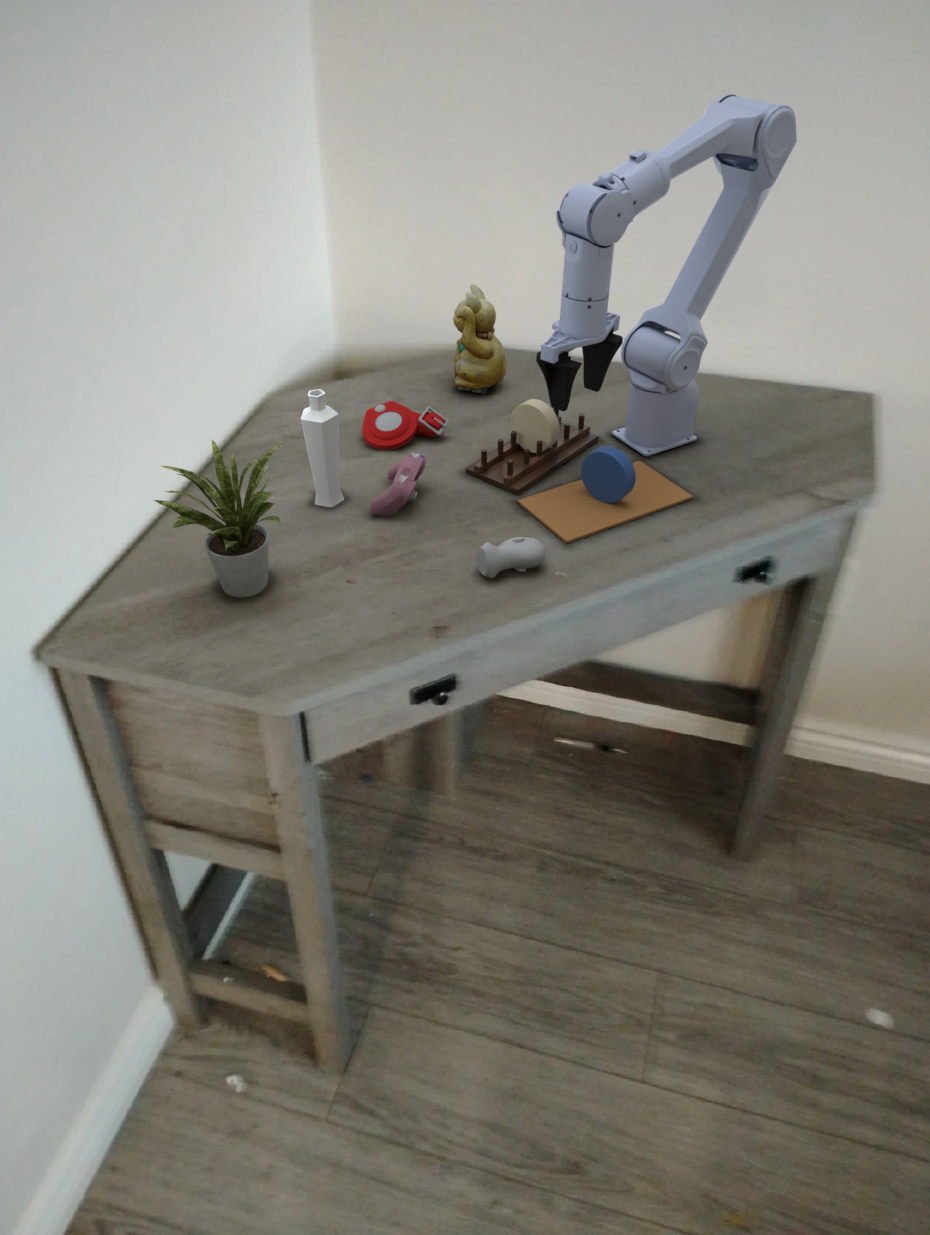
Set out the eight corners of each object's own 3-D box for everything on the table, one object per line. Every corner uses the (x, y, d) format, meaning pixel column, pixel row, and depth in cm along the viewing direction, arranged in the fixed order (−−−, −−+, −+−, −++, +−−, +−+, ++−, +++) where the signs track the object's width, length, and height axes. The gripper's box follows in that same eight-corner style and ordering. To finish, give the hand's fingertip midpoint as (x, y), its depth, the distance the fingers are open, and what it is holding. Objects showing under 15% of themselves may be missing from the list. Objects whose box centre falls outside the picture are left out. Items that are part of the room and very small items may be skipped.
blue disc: (587, 486, 123) (591, 438, 118) (632, 504, 119) (639, 456, 115) (578, 492, 122) (582, 444, 117) (624, 510, 118) (630, 462, 114)
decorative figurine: (457, 370, 152) (456, 278, 142) (508, 372, 151) (509, 279, 142) (450, 396, 144) (448, 300, 135) (503, 398, 144) (505, 302, 134)
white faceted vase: (352, 493, 123) (341, 387, 113) (338, 510, 120) (326, 402, 110) (320, 487, 124) (307, 382, 114) (306, 504, 121) (291, 397, 111)
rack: (546, 422, 138) (548, 398, 135) (598, 440, 133) (600, 416, 131) (465, 473, 127) (464, 448, 124) (518, 495, 122) (518, 469, 120)
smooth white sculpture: (536, 561, 112) (550, 573, 108) (472, 570, 111) (484, 583, 106) (534, 526, 111) (549, 537, 106) (469, 535, 109) (481, 547, 104)
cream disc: (517, 438, 132) (519, 392, 127) (558, 454, 128) (561, 407, 124) (509, 444, 130) (510, 398, 126) (550, 459, 127) (552, 412, 122)
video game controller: (398, 530, 119) (420, 490, 114) (365, 513, 118) (386, 472, 113) (416, 490, 126) (437, 451, 122) (386, 474, 125) (407, 434, 121)
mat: (639, 462, 128) (639, 460, 128) (692, 498, 121) (693, 496, 121) (517, 502, 121) (517, 500, 120) (566, 543, 113) (566, 541, 113)
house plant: (250, 530, 116) (228, 410, 106) (334, 566, 110) (320, 442, 100) (161, 587, 107) (128, 462, 97) (248, 630, 101) (222, 501, 91)
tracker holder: (371, 450, 129) (348, 405, 135) (378, 471, 133) (355, 427, 138) (451, 418, 131) (425, 375, 136) (455, 440, 134) (430, 397, 140)
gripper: (590, 271, 119) (581, 373, 127) (522, 301, 110) (517, 408, 118) (638, 284, 115) (625, 387, 124) (572, 315, 106) (563, 424, 115)
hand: (575, 398), depth 121 cm, fingers open, 7 cm apart
